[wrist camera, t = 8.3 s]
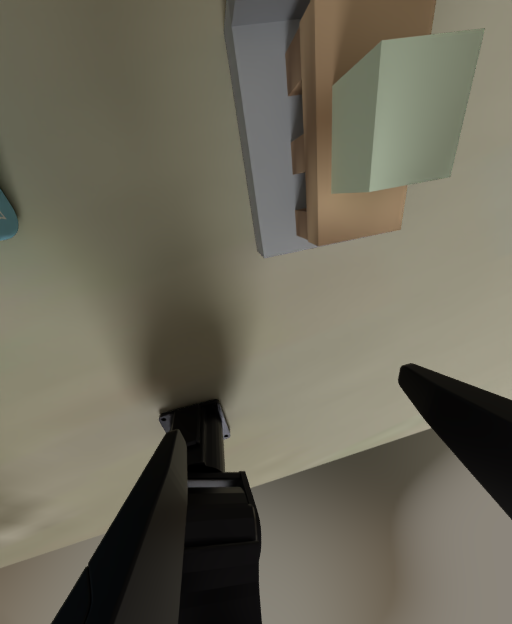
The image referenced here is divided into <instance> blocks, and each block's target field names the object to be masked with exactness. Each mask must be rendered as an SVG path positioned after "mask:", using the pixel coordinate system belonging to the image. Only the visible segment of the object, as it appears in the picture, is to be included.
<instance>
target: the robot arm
mask: <svg viewBox="0 0 512 624" xmlns="http://www.w3.org/2000/svg"><path fill="white" fill-rule="evenodd" d="M398 383H399V385H400V387H401V388H402V390H403V391H404V392H405V394H406V395H407V396H408V398H409V399H410V400H411V402H412V403H413V405H414V406H415V407H416V409H417V410H418V411H419V413H420V414H421V415H422V417H423V418H424V419H425V421H426V422H427V423H428V424H429V425H430V427H431V428H432V429H433V430H434V431H435V432H436V433H437V435H438V436H439V437H440V438H441V439H442V440H443V441H444V443H445V444H446V445H447V446H448V447H449V448H450V449H451V450H452V452H453V453H454V454H455V455H456V456H457V457H458V459H459V460H460V461H461V462H462V463H463V464H464V466H465V467H466V468H467V469H468V470H469V471H470V472H471V474H472V475H473V476H474V477H475V478H476V479H477V480H478V482H479V483H480V484H481V485H482V486H483V487H484V488H485V489H486V491H487V492H488V493H489V494H490V495H491V496H492V498H493V499H494V500H495V501H496V502H497V503H498V504H499V506H500V507H501V508H502V509H503V510H504V511H505V512H506V514H507V515H508V516H509V517H510V518H511V519H512V400H510V399H507V398H504V397H502V396H499V395H496V394H494V393H491V392H488V391H486V390H483V389H480V388H478V387H475V386H472V385H469V384H467V383H464V382H461V381H459V380H456V379H453V378H451V377H448V376H445V375H442V374H440V373H437V372H434V371H432V370H429V369H426V368H424V367H421V366H418V365H416V364H412V363H410V364H406V365H402V366H401V368H400V372H399V377H398ZM159 422H160V423H161V425H162V427H163V428H164V430H165V432H166V434H165V436H164V437H163V439H162V441H161V442H160V444H159V446H158V447H157V449H156V451H155V452H154V454H153V456H152V457H151V459H150V461H149V462H148V464H147V466H146V467H145V469H144V471H143V472H142V474H141V476H140V477H139V479H138V481H137V482H136V484H135V486H134V487H133V489H132V491H131V492H130V494H129V496H128V497H127V499H126V501H125V502H124V504H123V506H122V507H121V509H120V511H119V512H118V514H117V516H116V517H115V519H114V521H113V522H112V524H111V526H110V527H109V529H108V531H107V532H106V534H105V536H104V538H103V539H102V541H101V543H100V544H99V546H98V548H97V549H96V551H95V553H94V554H93V556H92V558H91V559H90V561H89V563H88V566H87V567H86V568H85V569H84V571H83V572H82V574H81V576H80V577H79V579H78V581H77V582H76V584H75V586H74V587H73V589H72V591H71V592H70V594H69V595H68V597H67V599H66V600H65V602H64V604H63V605H62V607H61V608H60V610H59V612H58V613H57V615H56V616H55V618H54V620H53V621H52V623H51V624H262V621H261V607H260V595H259V557H260V552H261V526H260V520H259V516H258V512H257V508H256V505H255V502H254V499H253V495H252V492H251V489H250V486H249V482H248V479H247V476H246V473H245V471H239V472H225V460H224V443H223V439H227V438H229V437H230V430H229V427H228V425H227V422H226V419H225V416H224V413H223V410H222V408H221V405H220V402H219V400H211V401H207V402H204V403H200V404H196V405H192V406H188V407H185V408H181V409H177V410H173V411H169V412H166V413H162V414H161V415H160V416H159Z"/></svg>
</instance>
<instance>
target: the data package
mask: <svg viewBox="0 0 512 624" xmlns="http://www.w3.org/2000/svg"><path fill="white" fill-rule="evenodd" d="M17 231H18V219H17V216H16V213H15V211H14V209H13V208H12V206H11V205H10V203H9V201H8V200H7V198H6V197H5V195H4V194H3V192H2V190H1V189H0V241H1V240H6V239H9V238H12V237H13V236H14V235H15V234H16V233H17Z"/></svg>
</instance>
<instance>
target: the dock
mask: <svg viewBox="0 0 512 624" xmlns="http://www.w3.org/2000/svg"><path fill="white" fill-rule="evenodd" d="M310 1H311V0H226V11H225V22H224V35H225V42H226V49H227V55H228V62H229V68H230V75H231V81H232V88H233V94H234V101H235V107H236V114H237V121H238V127H239V134H240V140H241V147H242V153H243V160H244V166H245V173H246V179H247V186H248V193H249V199H250V206H251V212H252V219H253V225H254V232H255V238H256V245H257V251H258V252H259V253H260V254H261V255H262V256H263V258H268V257H273V256H277V255H282V254H287V253H292V252H297V251H301V250H306V249H311V248H316V247H320V246H316V245H314V244H312V243H309V242H308V240H306V239H304V238H302V237H299V236H297V235H296V220H295V210H299V209H304V208H307V206H306V180H305V173H300V174H294V175H293V172H292V156H291V142H292V141H294V140H295V139H297V138H298V137H300V136H301V135H302V134H304V129H303V104H302V95H295V96H288V92H287V76H286V60H285V53H286V51H287V49H288V47H289V45H290V43H291V42H292V40H293V38H294V36H295V34H296V32H297V30H298V28H299V22H300V20H301V19H302V17H303V15H304V13H305V11H306V9H307V7H308V5H309V3H310ZM391 232H392V231H391ZM386 233H387V232H386ZM381 234H382V233H381ZM376 235H378V234H376ZM372 236H373V235H372ZM367 237H368V236H367ZM362 238H363V237H362ZM357 239H359V238H357ZM352 240H354V239H352ZM347 241H349V240H347ZM342 242H344V241H342ZM338 243H340V242H338ZM333 244H335V243H333ZM328 245H330V244H328ZM323 246H325V245H323Z"/></svg>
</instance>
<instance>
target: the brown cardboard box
mask: <svg viewBox="0 0 512 624" xmlns="http://www.w3.org/2000/svg"><path fill="white" fill-rule="evenodd" d="M435 5H436V0H311V1H310V3H309V5H308V7H307V9H306V11H305V13H304V15H303V17H302V19H301V20H300V22H299V28H298V30H297V32H296V34H295V36H294V38H293V40H292V42H291V43H290V45H289V47H288V49H287V51H286V53H285V60H286V76H287V92H288V96H295V95H302V104H303V129H304V134H302V135H301V136H300V137H298V138H297V139H295V140H294V141H292V142H291V156H292V172H293V175H294V174H300V173H305V180H306V206H307V208H304V209H299V210H295V220H296V235H297V236H299V237H302V238H304V239H306V240H308V242H309V243H312V244H314V245H316V246H323V245H328V244H333V243H338V242H342V241H347V240H352V239H357V238H362V237H367V236H372V235H376V234H381V233H386V232H391V231H396V230H401V224H402V217H403V211H404V204H405V198H406V191H407V185H405V186H399V187H394V188H389V189H383V190H378V191H373V192H360V193H336V194H331V167H332V86H333V85H334V84H335V83H336V82H337V81H338V80H339V79H340V78H341V77H342V76H344V75H345V74H346V73H347V72H348V71H349V70H350V69H351V68H352V67H353V66H354V65H355V64H357V63H358V62H359V61H360V60H361V59H362V58H363V57H364V56H365V55H366V54H367V53H369V52H370V51H371V50H372V49H373V48H374V47H375V46H376V45H377V44H378V43H379V42H381V41H382V40H389V39H398V38H406V37H415V36H423V35H431V30H432V24H433V17H434V11H435Z"/></svg>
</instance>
